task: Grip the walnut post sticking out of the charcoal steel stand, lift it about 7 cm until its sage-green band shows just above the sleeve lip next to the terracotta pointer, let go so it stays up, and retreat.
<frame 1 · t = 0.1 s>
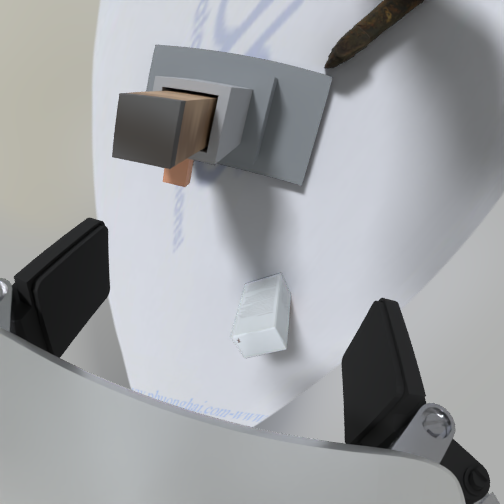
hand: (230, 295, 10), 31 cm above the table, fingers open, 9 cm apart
skincare box: (269, 287, 48), on the table
post: (191, 117, 24), point 14 cm above the table, slide at 0.0 cm
stand base: (229, 108, 36), on the table
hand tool: (379, 26, 29), on the table
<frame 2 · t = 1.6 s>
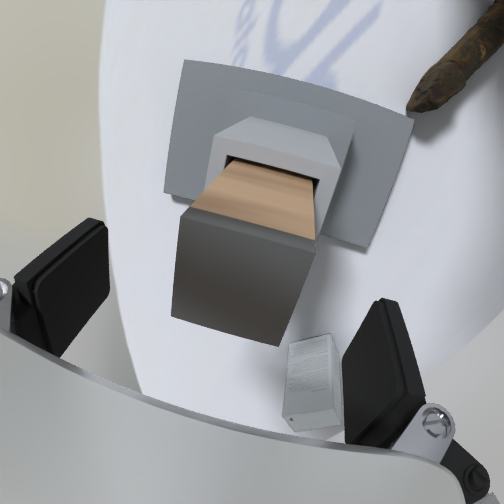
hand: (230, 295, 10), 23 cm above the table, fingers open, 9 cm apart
skincare box: (314, 346, 42), on the table
post: (266, 198, 17), point 14 cm above the table, slide at 0.0 cm
stand base: (283, 149, 30), on the table
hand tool: (463, 58, 22), on the table
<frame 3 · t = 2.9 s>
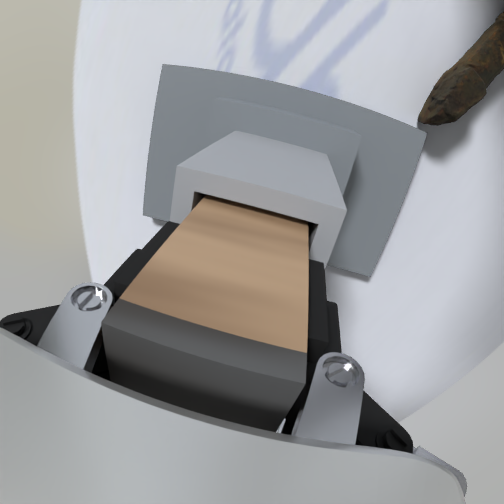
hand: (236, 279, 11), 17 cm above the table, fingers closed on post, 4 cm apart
post: (249, 242, 14), point 14 cm above the table, slide at 0.0 cm, touching gripper
stand base: (276, 166, 26), on the table
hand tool: (480, 61, 18), on the table
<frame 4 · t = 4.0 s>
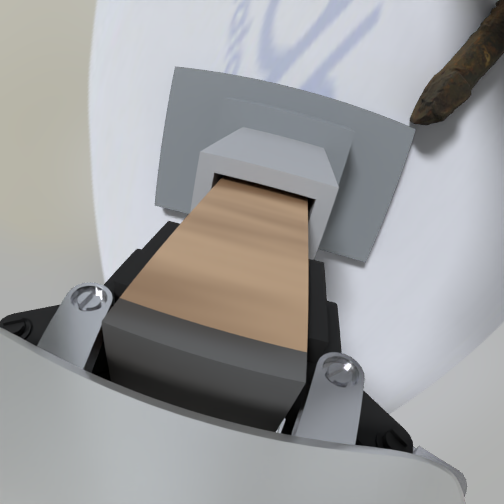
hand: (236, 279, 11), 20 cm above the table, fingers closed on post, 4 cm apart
post: (249, 242, 14), point 17 cm above the table, slide at 2.8 cm, touching gripper
stand base: (278, 160, 29), on the table
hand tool: (466, 64, 21), on the table
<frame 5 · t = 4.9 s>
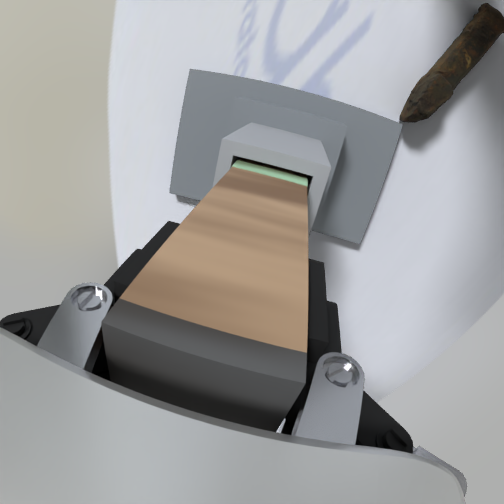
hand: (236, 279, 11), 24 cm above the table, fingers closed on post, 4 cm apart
post: (249, 242, 14), point 21 cm above the table, slide at 6.8 cm, touching gripper
stand base: (281, 153, 32), on the table
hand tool: (451, 66, 24), on the table
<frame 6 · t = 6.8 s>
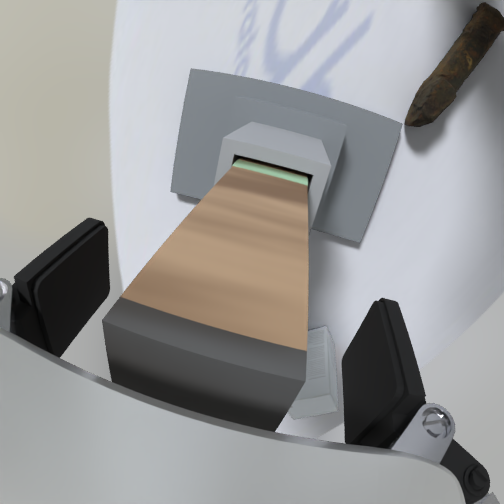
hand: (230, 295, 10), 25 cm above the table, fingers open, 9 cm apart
skincare box: (312, 339, 44), on the table
post: (249, 241, 14), point 21 cm above the table, slide at 6.9 cm
stand base: (282, 152, 32), on the table
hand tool: (452, 68, 25), on the table
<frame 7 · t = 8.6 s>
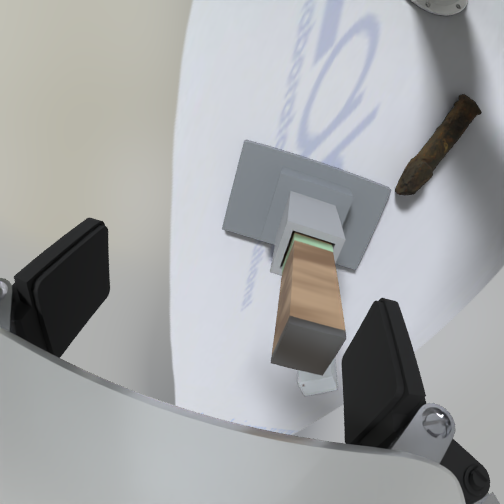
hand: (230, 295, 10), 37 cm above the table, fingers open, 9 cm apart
skincare box: (317, 338, 58), on the table
post: (307, 284, 28), point 21 cm above the table, slide at 6.9 cm
stand base: (305, 205, 47), on the table
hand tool: (434, 146, 40), on the table
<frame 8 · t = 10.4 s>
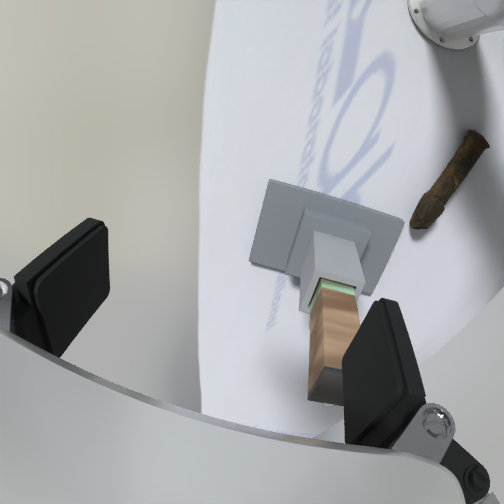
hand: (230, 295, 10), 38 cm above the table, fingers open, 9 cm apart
post: (334, 327, 32), point 21 cm above the table, slide at 6.9 cm
stand base: (325, 238, 50), on the table
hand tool: (445, 179, 42), on the table
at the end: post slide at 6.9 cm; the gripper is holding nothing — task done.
